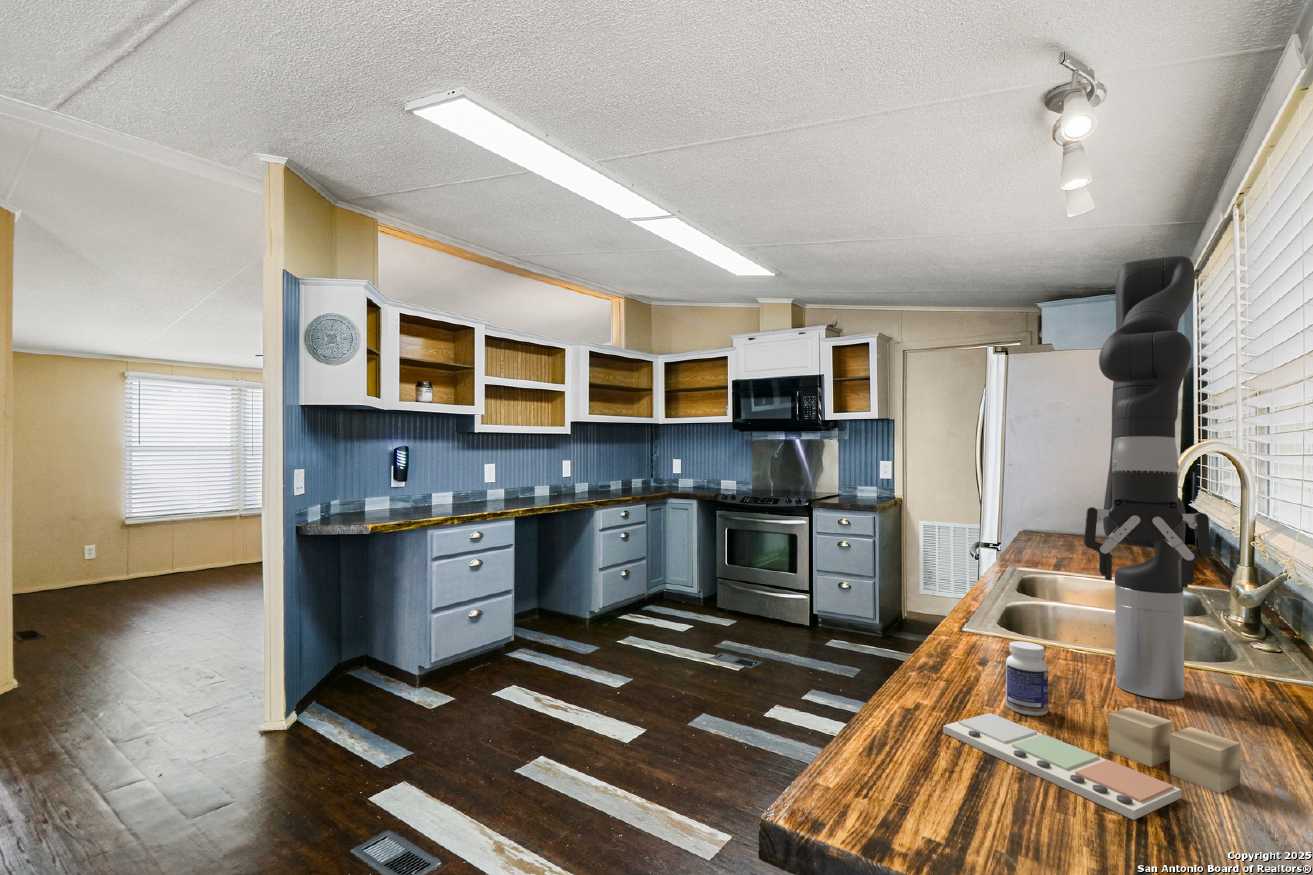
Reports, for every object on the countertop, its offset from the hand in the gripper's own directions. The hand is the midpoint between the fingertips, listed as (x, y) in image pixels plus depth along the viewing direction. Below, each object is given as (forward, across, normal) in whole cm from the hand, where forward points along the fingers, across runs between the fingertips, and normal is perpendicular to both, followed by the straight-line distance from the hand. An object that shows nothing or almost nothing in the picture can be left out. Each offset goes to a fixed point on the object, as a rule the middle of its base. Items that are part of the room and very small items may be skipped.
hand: (1144, 583), depth 91 cm
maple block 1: (+22, +1, +7) cm, 23 cm away
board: (+22, +12, +16) cm, 30 cm away
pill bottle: (+22, +14, -3) cm, 26 cm away
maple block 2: (+22, -5, +10) cm, 25 cm away
